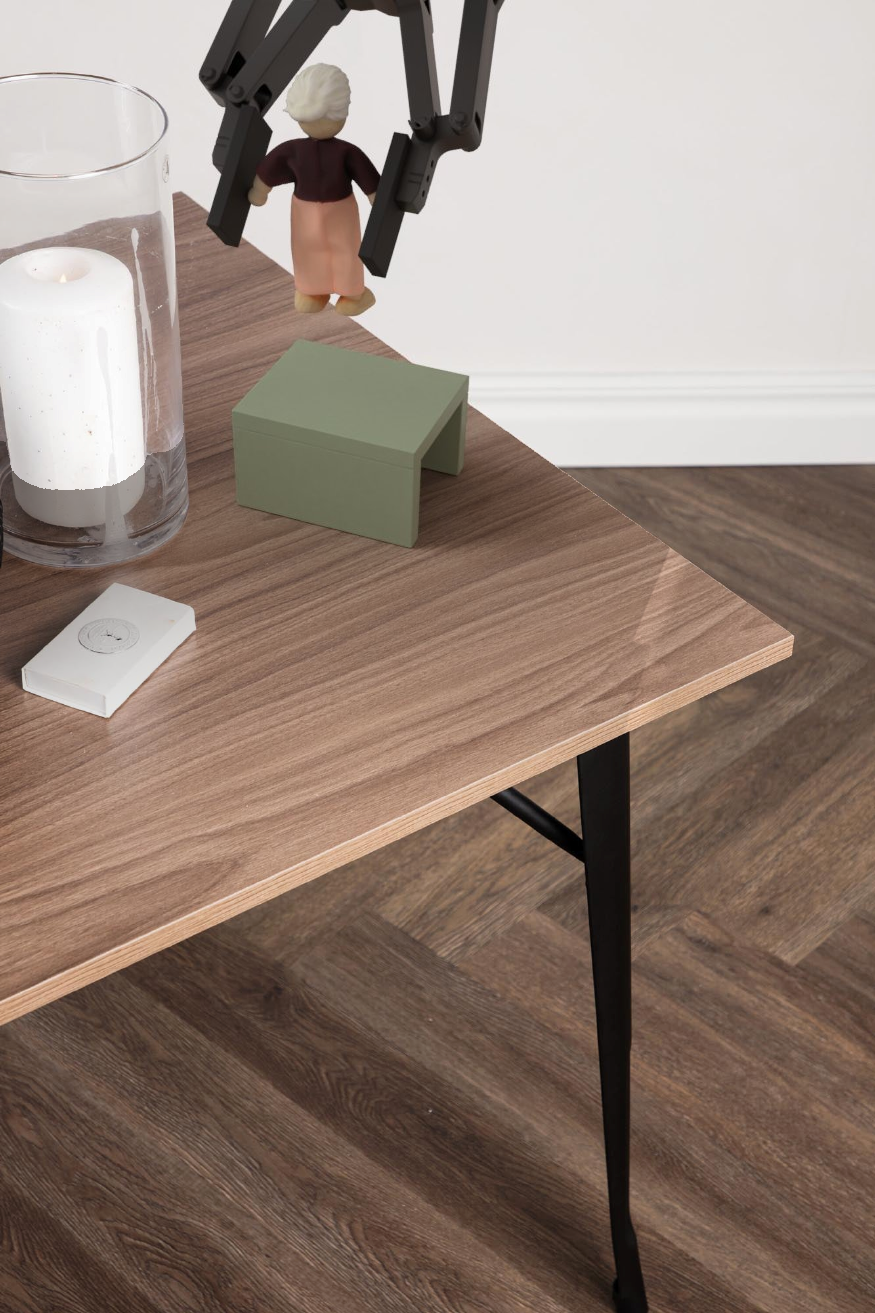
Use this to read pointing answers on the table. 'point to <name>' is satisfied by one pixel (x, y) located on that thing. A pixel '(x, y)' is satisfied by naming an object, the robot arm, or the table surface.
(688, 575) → the table surface
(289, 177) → the grandmother figurine
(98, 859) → the table surface
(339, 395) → the shelf
